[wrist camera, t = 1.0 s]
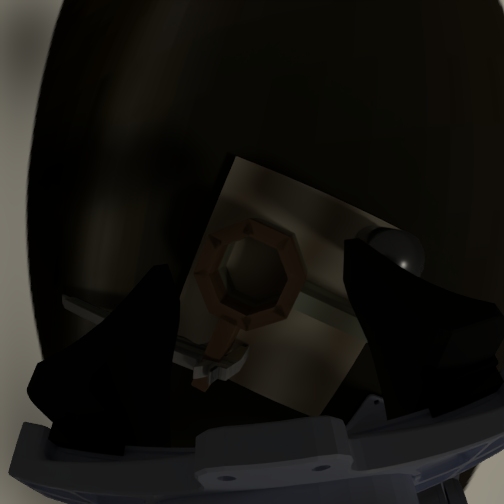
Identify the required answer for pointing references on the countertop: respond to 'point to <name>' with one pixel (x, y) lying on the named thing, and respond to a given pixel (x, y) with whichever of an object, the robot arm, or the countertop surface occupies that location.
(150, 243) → the countertop surface
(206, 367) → the caliper
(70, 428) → the robot arm
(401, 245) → the steel pin
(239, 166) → the hinge base
